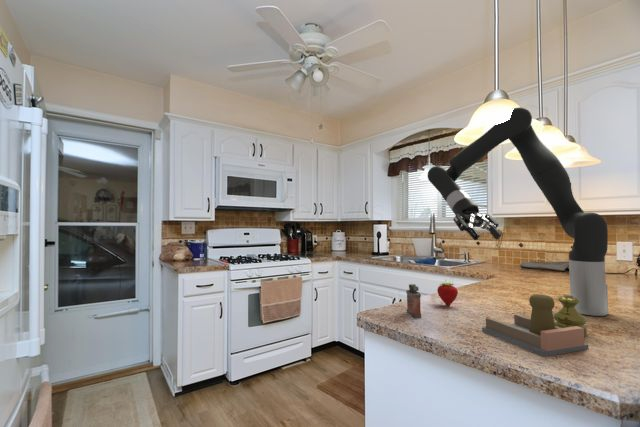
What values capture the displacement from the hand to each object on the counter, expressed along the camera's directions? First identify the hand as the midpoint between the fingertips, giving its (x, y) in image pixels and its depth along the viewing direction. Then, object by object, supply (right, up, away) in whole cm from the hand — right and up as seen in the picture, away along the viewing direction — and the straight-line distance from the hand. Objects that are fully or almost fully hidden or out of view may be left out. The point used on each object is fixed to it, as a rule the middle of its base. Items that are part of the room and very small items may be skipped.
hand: (488, 238), depth 103 cm
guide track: (0, -25, -21) cm, 32 cm away
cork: (+1, -24, -24) cm, 33 cm away
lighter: (-23, -26, +3) cm, 35 cm away
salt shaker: (+14, -25, -15) cm, 33 cm away
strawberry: (-8, -26, +14) cm, 30 cm away
